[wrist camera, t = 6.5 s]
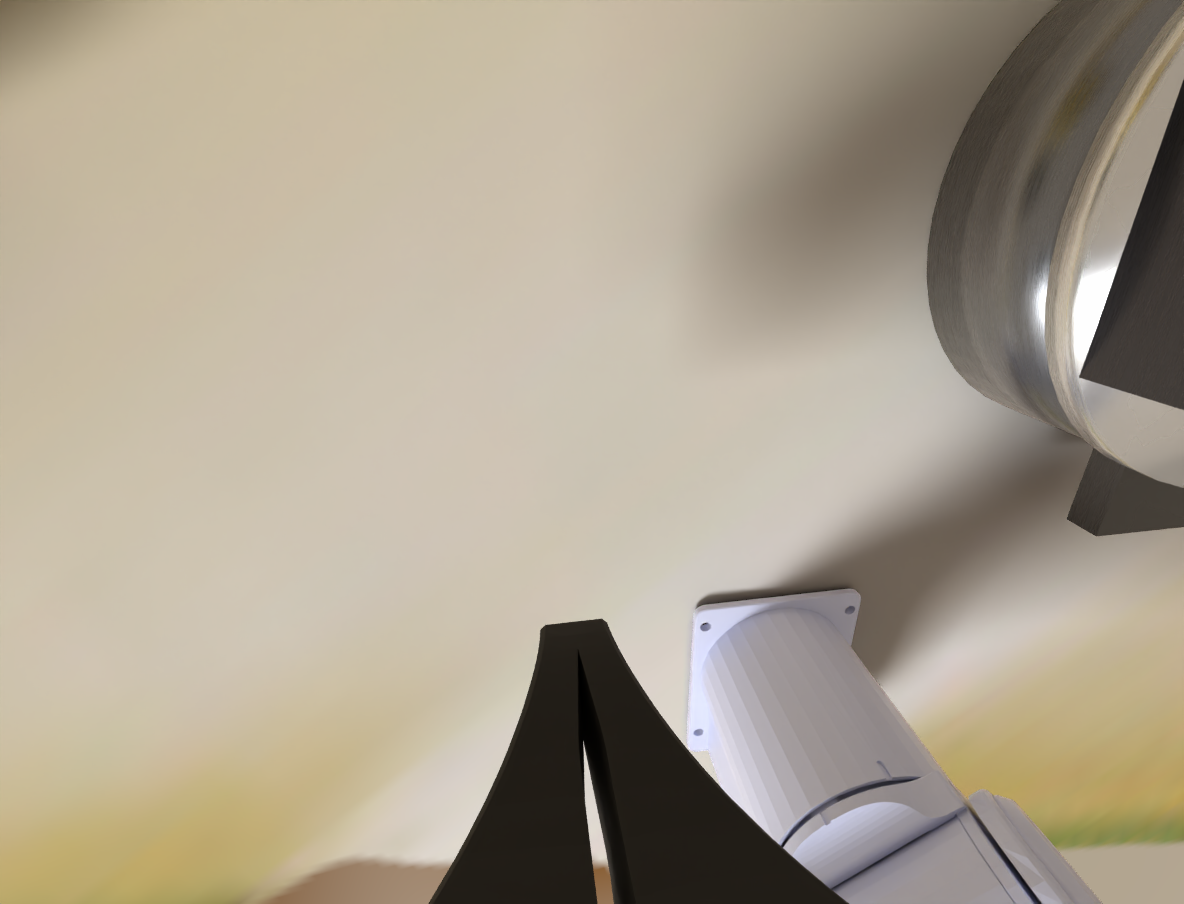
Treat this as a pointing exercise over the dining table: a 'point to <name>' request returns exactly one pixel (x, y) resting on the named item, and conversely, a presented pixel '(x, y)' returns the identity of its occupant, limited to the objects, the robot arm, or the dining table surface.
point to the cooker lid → (1127, 274)
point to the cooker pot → (1037, 230)
